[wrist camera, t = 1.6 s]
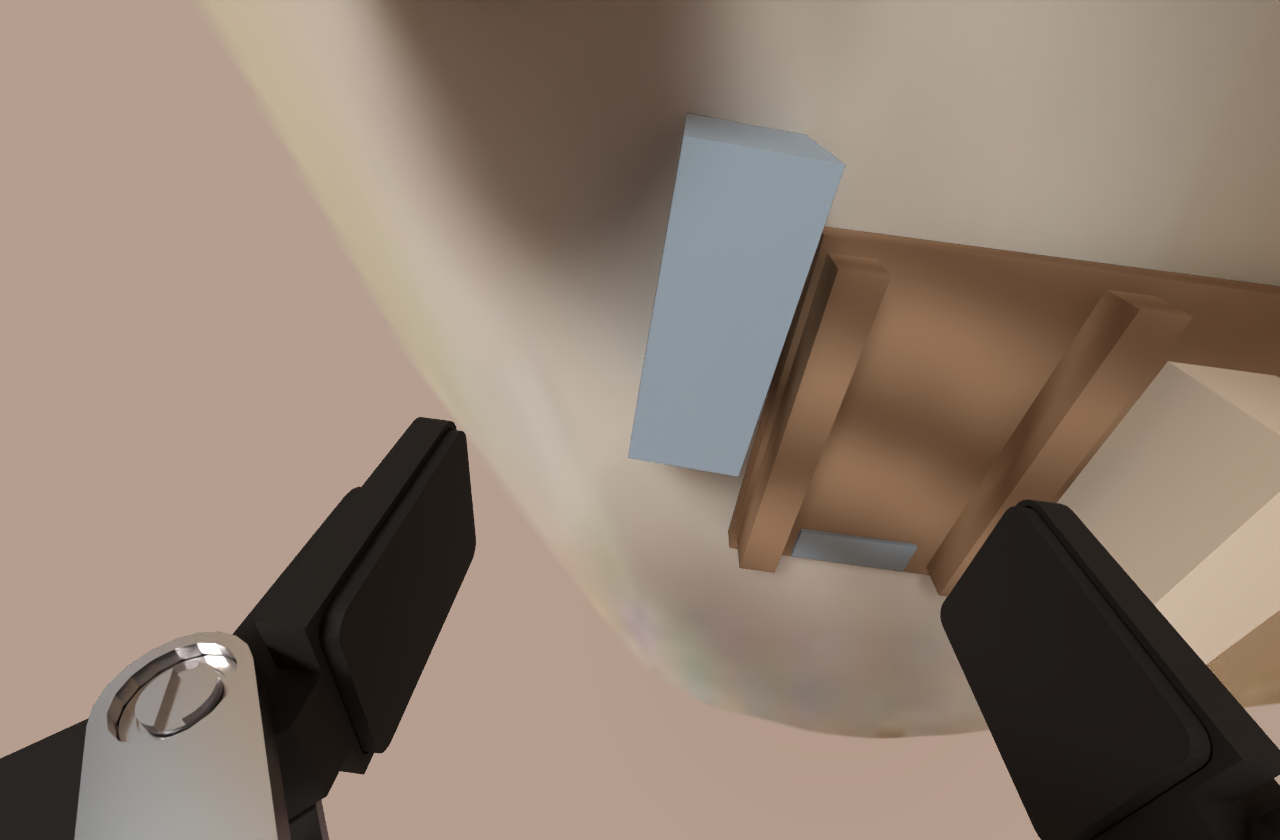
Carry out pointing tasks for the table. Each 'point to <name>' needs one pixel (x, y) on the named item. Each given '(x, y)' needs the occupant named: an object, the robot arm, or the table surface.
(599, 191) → the table surface
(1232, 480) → the ivory stub
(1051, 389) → the slot rack
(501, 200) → the table surface
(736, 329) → the blue stub
